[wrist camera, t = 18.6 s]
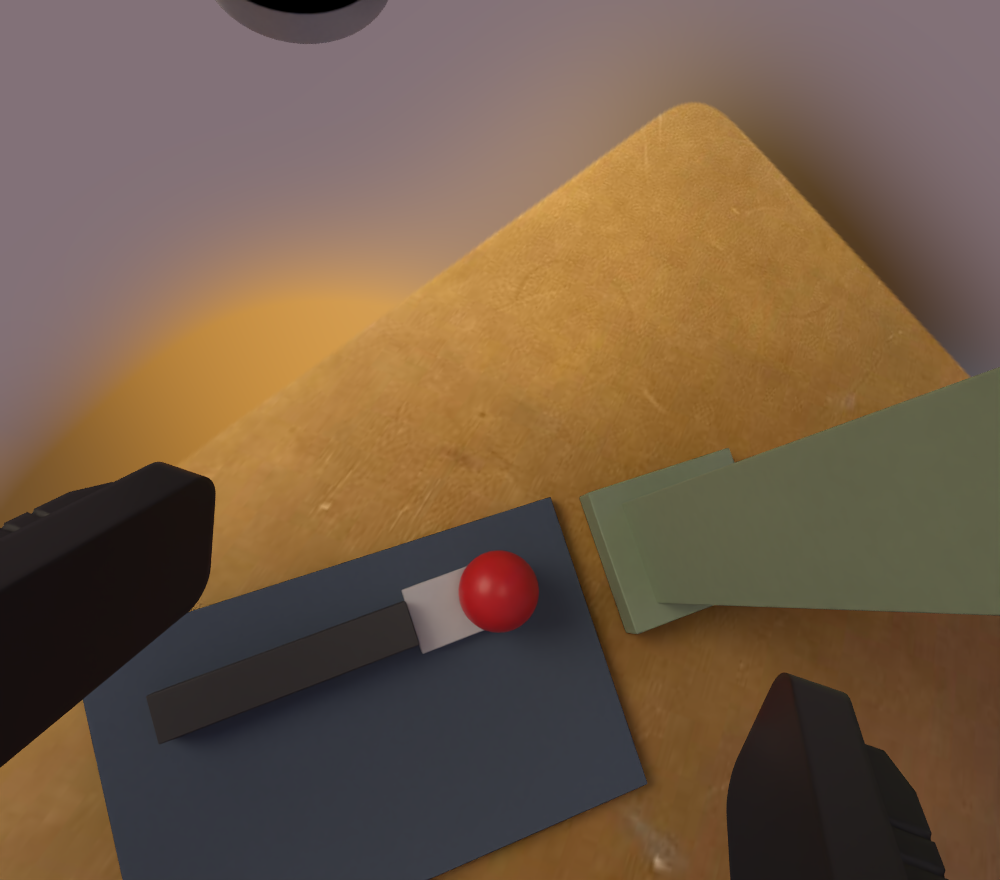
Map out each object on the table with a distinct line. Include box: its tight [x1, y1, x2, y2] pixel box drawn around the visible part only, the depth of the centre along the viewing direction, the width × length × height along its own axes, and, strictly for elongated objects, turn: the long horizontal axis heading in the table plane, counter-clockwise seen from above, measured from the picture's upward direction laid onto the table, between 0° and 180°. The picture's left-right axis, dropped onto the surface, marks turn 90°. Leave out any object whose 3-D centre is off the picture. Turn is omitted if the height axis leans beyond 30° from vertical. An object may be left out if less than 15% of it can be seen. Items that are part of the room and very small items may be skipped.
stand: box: [580, 367, 1000, 634], centre depth 20 cm, size 10×7×31 cm, turn 109°
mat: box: [83, 497, 647, 880], centre depth 31 cm, size 22×14×1 cm, turn 109°
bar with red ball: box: [146, 550, 539, 744], centre depth 29 cm, size 17×4×4 cm, turn 110°
